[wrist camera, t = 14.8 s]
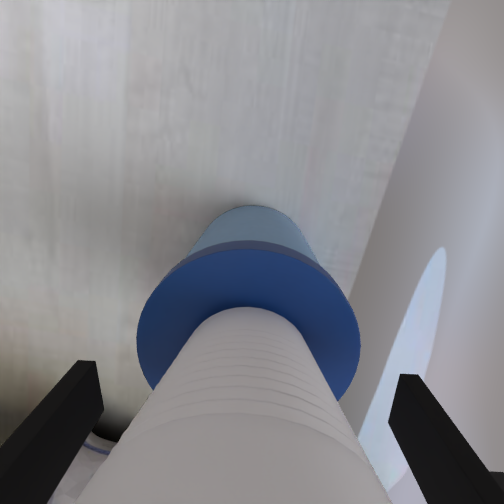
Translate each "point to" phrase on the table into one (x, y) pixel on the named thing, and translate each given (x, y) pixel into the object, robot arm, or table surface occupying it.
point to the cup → (239, 426)
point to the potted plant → (82, 469)
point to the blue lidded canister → (251, 293)
